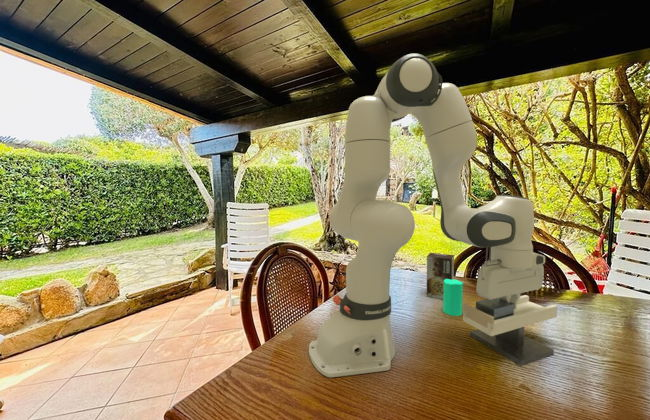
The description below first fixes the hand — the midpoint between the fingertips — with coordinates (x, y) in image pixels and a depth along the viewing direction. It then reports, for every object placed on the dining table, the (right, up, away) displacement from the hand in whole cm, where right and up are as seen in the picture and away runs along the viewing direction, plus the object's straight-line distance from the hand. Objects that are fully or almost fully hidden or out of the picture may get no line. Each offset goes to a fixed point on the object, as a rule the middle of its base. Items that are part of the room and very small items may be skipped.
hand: (509, 309), depth 70 cm
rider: (-5, -2, -2) cm, 6 cm away
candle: (-5, -9, +20) cm, 22 cm away
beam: (0, -3, 0) cm, 3 cm away
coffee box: (-4, -7, +33) cm, 34 cm away
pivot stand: (+1, -10, +1) cm, 10 cm away
